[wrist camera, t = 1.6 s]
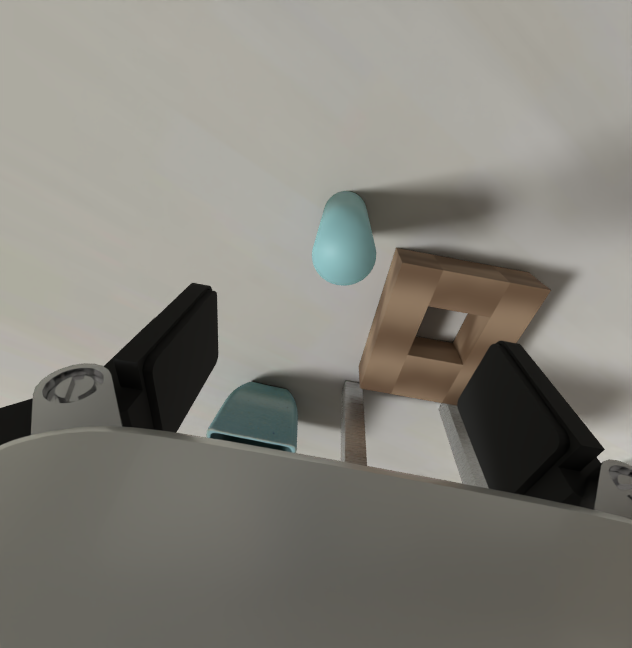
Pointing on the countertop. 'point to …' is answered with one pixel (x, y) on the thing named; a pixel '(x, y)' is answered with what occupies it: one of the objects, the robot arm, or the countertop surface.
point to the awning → (453, 424)
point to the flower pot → (258, 418)
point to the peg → (344, 241)
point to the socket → (452, 294)
